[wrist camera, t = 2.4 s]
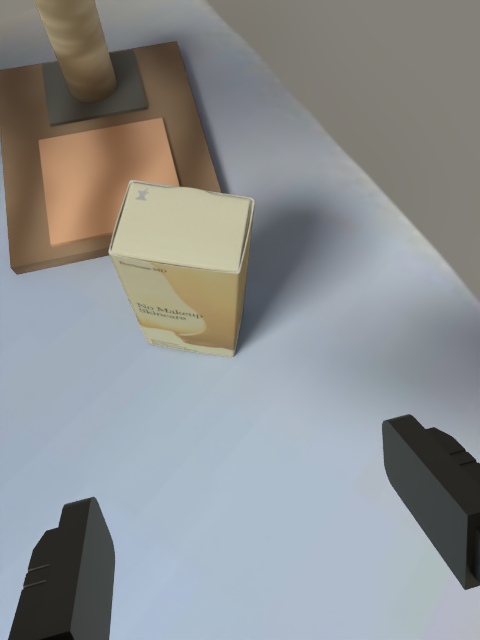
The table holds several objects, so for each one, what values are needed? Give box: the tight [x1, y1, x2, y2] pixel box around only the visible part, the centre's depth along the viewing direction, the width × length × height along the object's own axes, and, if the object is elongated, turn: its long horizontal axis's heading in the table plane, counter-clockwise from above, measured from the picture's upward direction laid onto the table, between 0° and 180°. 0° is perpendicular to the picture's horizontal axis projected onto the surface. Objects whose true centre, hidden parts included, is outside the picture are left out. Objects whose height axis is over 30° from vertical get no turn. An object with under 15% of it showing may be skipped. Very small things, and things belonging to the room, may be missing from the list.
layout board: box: [0, 0, 221, 274], centre depth 34 cm, size 16×20×9 cm
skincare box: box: [109, 180, 255, 357], centre depth 27 cm, size 6×4×12 cm
